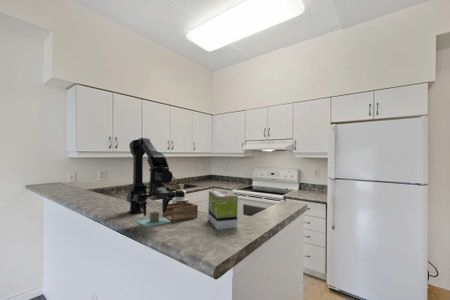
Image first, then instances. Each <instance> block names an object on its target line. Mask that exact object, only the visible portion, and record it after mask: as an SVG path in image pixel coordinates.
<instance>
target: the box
mask: <svg viewBox="0 0 450 300" xmlns="http://www.w3.org/2000/svg"><path fill="white" fill-rule="evenodd" d="M198 213H199V211H198V204H195V203H192V202H189V201H188V202H179V203H172V202H171V203H168V205H167V208H166V210H165V213H163V212H162V216H163V217H165V218H167V219H168V220H170V222H171V221H172V223H173V222H174V223H177V222H182V221H181V220H183V221H186V220H190V219H191V220H192V219H195V218H198ZM162 216H161V217H162Z"/></svg>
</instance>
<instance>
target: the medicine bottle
mask: <svg viewBox="0 0 450 300" xmlns="http://www.w3.org/2000/svg"><path fill="white" fill-rule="evenodd" d="M174 192H175V194H176V197H175V198H173V200H171V204H172V203H179V202H189V199H187V198H186V195H187V193H186V191H185V190H184V189H178V190H175V191H174Z"/></svg>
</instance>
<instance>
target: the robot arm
mask: <svg viewBox="0 0 450 300" xmlns="http://www.w3.org/2000/svg"><path fill="white" fill-rule="evenodd" d="M129 150H130V154H131V155H132V156H133V157H132V158H133V162H132V164H133V168H132V169H133V173H132V174H133V175H132V176H133V178H132V179H133V181H132V184H131V186H130V187H129V191H128V194H127V196H126V202H128V203H129V210H127V213H129V214H130V215H135V214H134V213H136V214H141V213H140V212H143V213H142V214H143V216H144V217H146V216H147V204H148V201H147V200H148V199H157V200H161V201H162V202H161V203H162V214H163V213H165V210H166V208H167V205H168V204H170V202H172V200H173V198H175V197H176V194H175V191H174V190H173V189H172V187H171V186H170V187H169V186H168V187H165V184H168V183H171V182H172V180H173V177H174V175H173V173H172V171H171V170H170V167H169V163H168V161H167V157H166V156H165V155H164V154H163V153H162V152H159V151H157V149H156V148H155V146H154V145H153V144H152V142H151V139H150V138H148V137H147V138H145V137H140V138H138V139H133V140H132V141H130V142H129ZM145 154H146V156H147V163H148V165H149V167H150V168H149V170H148V171H149V172H150V173H149V182H148V186H149V190H148V191H147V186H146V185H145V183H144V181H143V178H144V177H143V167H144V166H143V165H144V164H143V163H144V162H143V161H144V159H143V157H144V155H145Z"/></svg>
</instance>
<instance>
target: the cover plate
mask: <svg viewBox="0 0 450 300" xmlns="http://www.w3.org/2000/svg"><path fill="white" fill-rule="evenodd" d="M168 222H170V223H171V221H169V220H167V219H165V218H163V217H162V216H160V212H158V211H151V212H149V218H148V219H143V220H137V224H138V225H140V224H141V225H140V226H142V227H144V228H145V229H148V228H151V226H152V227H156V225H157V226H161V225H164V223H166V224H169V223H168ZM160 224H161V225H160Z"/></svg>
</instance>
